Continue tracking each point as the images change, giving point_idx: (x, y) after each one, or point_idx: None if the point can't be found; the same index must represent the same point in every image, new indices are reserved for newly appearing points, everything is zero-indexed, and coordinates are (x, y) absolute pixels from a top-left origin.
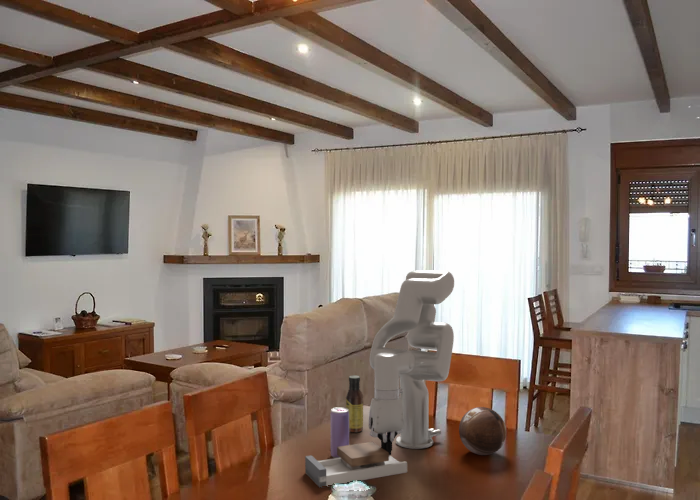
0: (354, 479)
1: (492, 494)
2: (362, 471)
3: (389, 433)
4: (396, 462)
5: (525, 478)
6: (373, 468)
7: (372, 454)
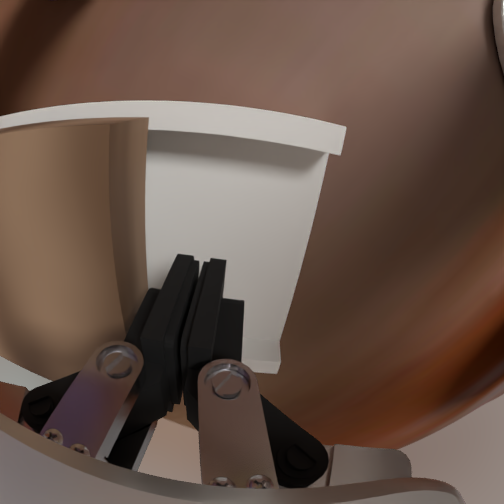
0: None
1: None
2: None
3: (235, 445)
4: (274, 280)
5: (447, 425)
6: None
7: (47, 373)
